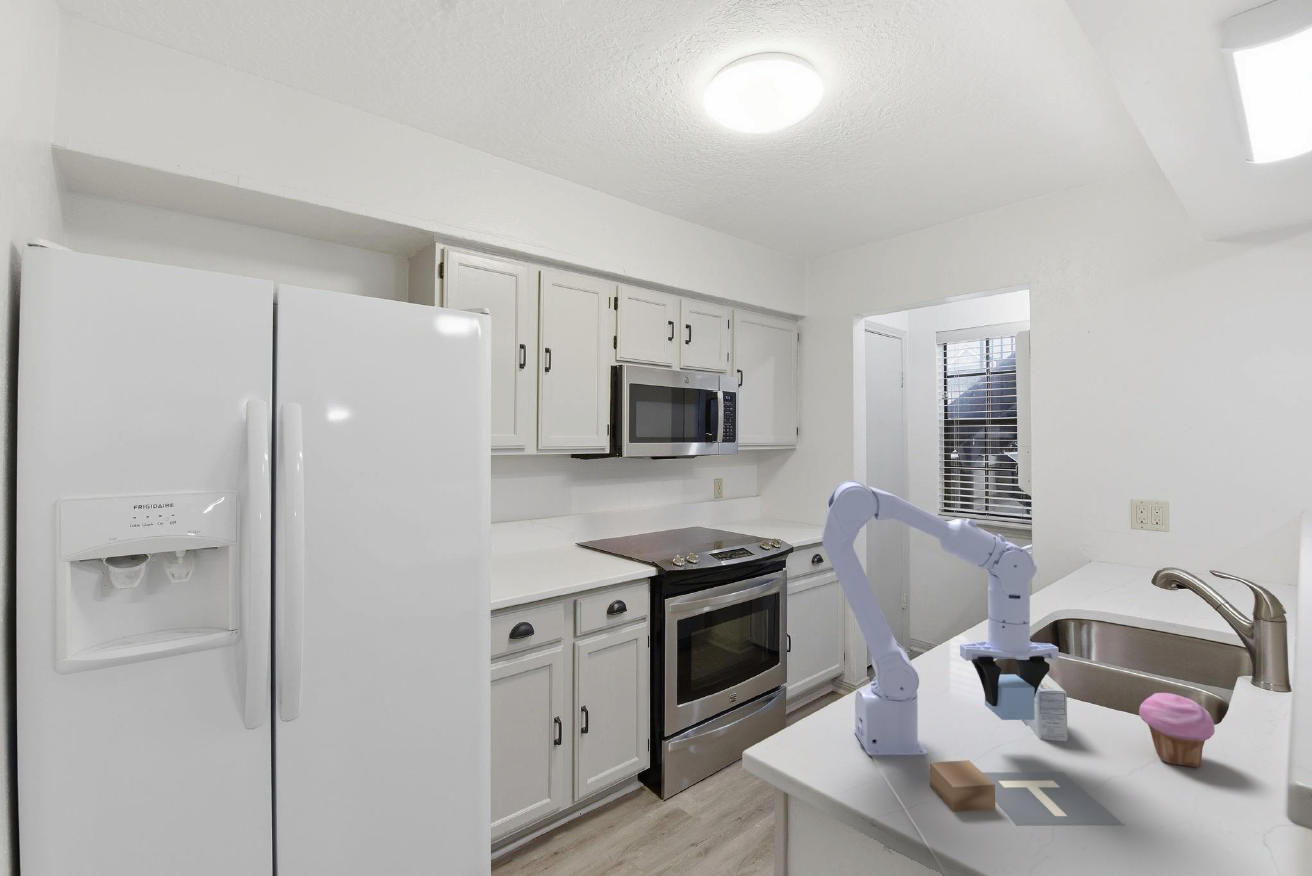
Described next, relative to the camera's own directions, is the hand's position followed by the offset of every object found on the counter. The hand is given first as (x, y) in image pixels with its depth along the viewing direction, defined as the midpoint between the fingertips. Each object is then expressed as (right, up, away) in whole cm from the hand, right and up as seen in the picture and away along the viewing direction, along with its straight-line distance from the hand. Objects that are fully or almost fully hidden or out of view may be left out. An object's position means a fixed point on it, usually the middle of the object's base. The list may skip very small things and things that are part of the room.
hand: (1008, 703), depth 96 cm
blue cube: (0, -1, 0) cm, 1 cm away
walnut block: (-13, -9, -11) cm, 19 cm away
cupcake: (+25, -8, -2) cm, 27 cm away
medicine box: (+10, -8, +8) cm, 15 cm away
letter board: (-2, -9, -11) cm, 14 cm away
